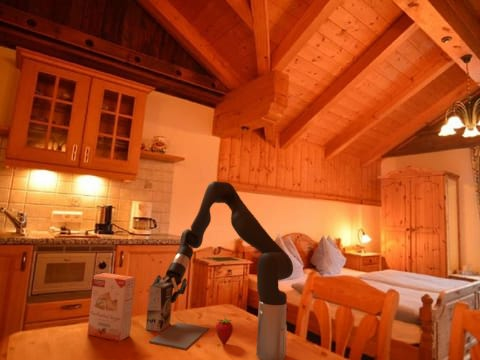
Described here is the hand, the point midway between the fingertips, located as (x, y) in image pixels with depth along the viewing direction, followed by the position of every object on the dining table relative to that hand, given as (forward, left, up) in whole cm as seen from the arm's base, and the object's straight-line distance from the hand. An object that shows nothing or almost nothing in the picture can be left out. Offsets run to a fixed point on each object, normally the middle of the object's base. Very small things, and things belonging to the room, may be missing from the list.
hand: (162, 300), depth 121 cm
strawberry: (-29, +6, -10) cm, 31 cm away
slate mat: (-12, +5, -10) cm, 16 cm away
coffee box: (0, +1, -10) cm, 10 cm away
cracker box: (+11, +16, -10) cm, 22 cm away
